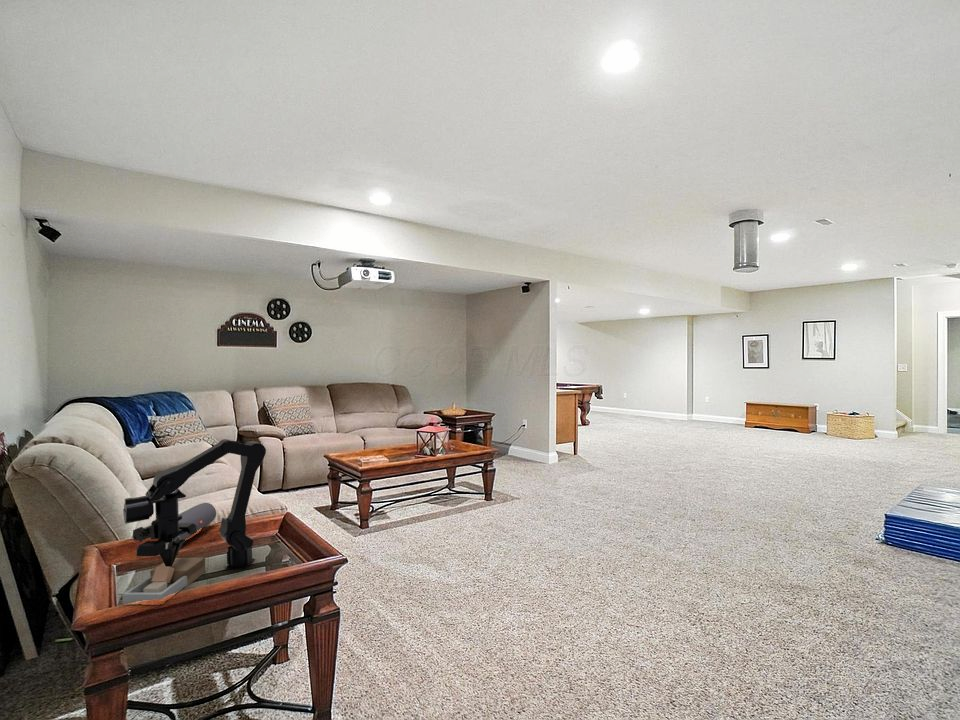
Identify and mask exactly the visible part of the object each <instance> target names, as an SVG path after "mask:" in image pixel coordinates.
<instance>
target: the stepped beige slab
mask: <svg viewBox="0 0 960 720" xmlns="http://www.w3.org/2000/svg"><path fill="white" fill-rule="evenodd" d="M156 567H166V566H165V564H164V562H163V561H162V563H160V564H159V565H157V566H156ZM156 567H154V568H152V569H151V570H150V572H149V573H150V575H149V576H153V575H154V572H155V570H156ZM172 568H174V572H173V575H172V578H171V581H170V583H167V584H173V583H175V582H176V581H177V580H179V579H180V578H181V577H183V576H187V587H188V586H189V585H191V584H192V583H193V582H195V581H196V580H198V579H199V578H200V577H202V576H203V574H205V573H206V558H205V557H176V558H175V561H174V563H173V565H172Z"/></svg>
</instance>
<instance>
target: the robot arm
mask: <svg viewBox="0 0 960 720" xmlns="http://www.w3.org/2000/svg"><path fill="white" fill-rule="evenodd" d="M266 452H267V449H266V447H265V445H263V444H262V443H260V442H257V441H254V440H249V441H246V442H243V441H235V440H231V439H227V438H224V439H221V440H220V441H219V442H217V443H216V444H214V445H212V446H211V447H209V448H207V449H206V450H204V451H202V452H200V453H199V454H198V455H196V456H193V457H191V458H190V459H189V460H187V461H185V462H183V463H181V464H179V465H175V466H171V467H169V468H166V469H164V470H162V471H159V472H158V473H157V474H155V475H154V477H153V480H152V484H151V485H150V487H149V488H148V490H147V491H146V493H145V495H142V496H136V497H127V498H124V504H123V509H122V510H123V511H122V512H123V521H124V524H126V525H127V524H131V523H137V522H141V521H145V520H147V521H148V520H149V519H150V518H151V517H153V515H154V514H155V519H154V520H152V521H151V523H150V525H147V526H145V527H143V526H140V527H138V528H135V529H133V530H132V539H133V540H134V541H138V543H140V544H139V545H138V546H137V547H136V548H135V555H136V557H157V556H160V557H161V560H162V563H163V562H164V564H165V566H166V567H172V565H173V563H174V561H175V558H177V556H178V554H179V552H180V550H181V548H182V546H183V544H184V543H186V542H185V540H180V537H179V536H180V535H182V534H183V533H185V532H188V534H189V535H192V534H194V533H196V532H197V529H196V525H195V524H194V523H179V520H181V519H182V516H179V514H180V513H179V512H180V511H179V499H184V498H186V497H187V495H186V494H185V493H184V492H182V491H181V490H180V489H179V488H181V487H182V485H184V484H185V483H186V482H187V481H188V480H189V478H191V477H192V476H193V475H195V474H197V473H198V472H199V471H201V470H203V469H205V468H207V467H208V466H210V465H211V464H213V463H214V462H216V461H218V460H219V459H221V458H223V457H225V456H226V455H228V454H231V455H232V454H234V455H238V456H240V465H241V466H240V467H241V469H240V472H239V477H238V481H237V485H236V489H235V492H234V497H233V501H232V505H231V508H230V512H229V514H228V516H227V517H222V518H221V521H220V527H219V529H218V531H219V532H220V535H219V536H220V537H221V539H222V540H224V542H226V543H225V544H228V545H229V546H228V547H227V551H226V566H225V569H226V570H245V569H247V568H249V566H250V565H252V564H253V563H254V562H255V561H256V559H255V558H253V544H254V539H252V538H251V537H249V536H248V535H247V534H246V533H247V521H246V520H247V519H246V514H247V510H248V506H249V501H250V497H251V494H252V488H253V486H254V481H255V477H256V473H257V471H258V469H259V468H260V466H261V464H262V463H263V460H264V459H265V457H266V454H267V453H266ZM154 504H155V505H154ZM154 507H155V508H154ZM154 510H155V511H154ZM154 512H155V513H154ZM148 539H150V540H148ZM145 540H147V541H145ZM143 541H145V542H143ZM142 542H143V543H142ZM141 543H142V544H141Z"/></svg>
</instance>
